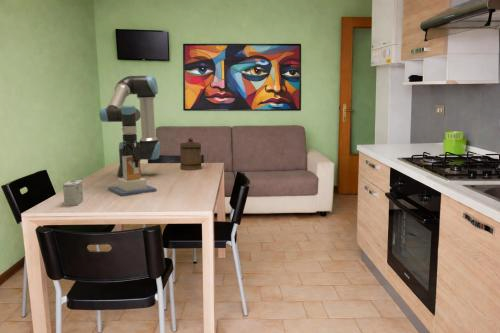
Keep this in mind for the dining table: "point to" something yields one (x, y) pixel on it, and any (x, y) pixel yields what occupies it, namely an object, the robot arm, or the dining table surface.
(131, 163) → the small box
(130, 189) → the build board
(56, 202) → the dining table surface
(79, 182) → the light bulb box
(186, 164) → the wooden container
